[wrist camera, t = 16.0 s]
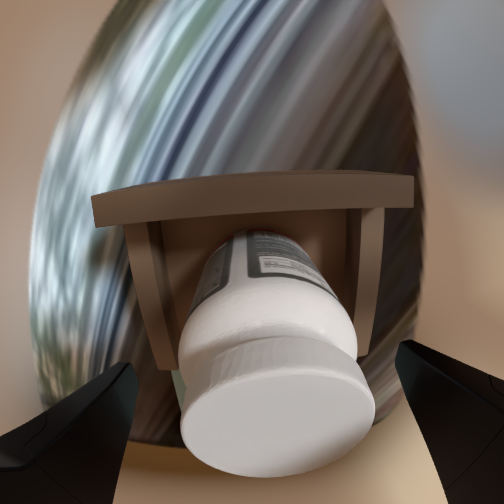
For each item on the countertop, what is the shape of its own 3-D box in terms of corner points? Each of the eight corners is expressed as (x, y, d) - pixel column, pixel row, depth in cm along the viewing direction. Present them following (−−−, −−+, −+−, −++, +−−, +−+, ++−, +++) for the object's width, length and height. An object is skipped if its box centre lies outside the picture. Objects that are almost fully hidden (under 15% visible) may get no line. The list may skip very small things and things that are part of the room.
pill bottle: (231, 336, 16) (223, 493, 6) (185, 252, 14) (103, 391, 5) (324, 300, 15) (397, 444, 6) (289, 207, 14) (379, 299, 4)
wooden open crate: (144, 183, 14) (90, 195, 9) (356, 170, 15) (414, 176, 9) (170, 336, 18) (147, 400, 12) (348, 324, 18) (383, 382, 12)
